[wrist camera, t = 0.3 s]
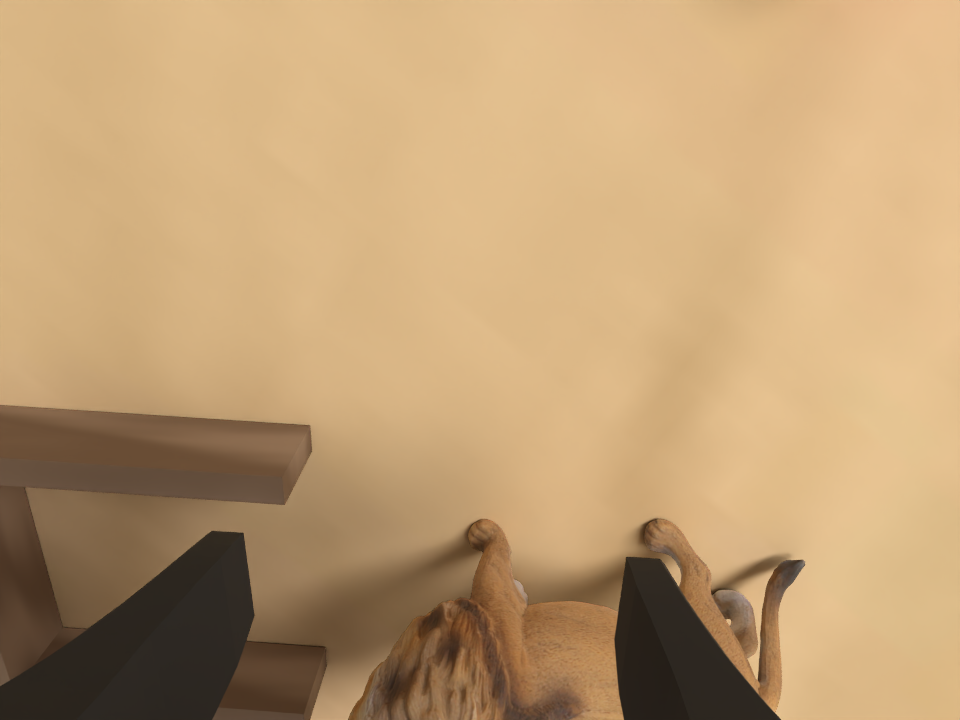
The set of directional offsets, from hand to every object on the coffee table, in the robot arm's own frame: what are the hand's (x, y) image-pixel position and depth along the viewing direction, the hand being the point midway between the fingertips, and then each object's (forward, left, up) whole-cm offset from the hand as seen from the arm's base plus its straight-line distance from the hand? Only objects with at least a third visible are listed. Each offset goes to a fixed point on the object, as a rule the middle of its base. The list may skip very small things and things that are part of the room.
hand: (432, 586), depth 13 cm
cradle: (-8, +11, -10) cm, 17 cm away
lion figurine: (-8, -4, -10) cm, 14 cm away
